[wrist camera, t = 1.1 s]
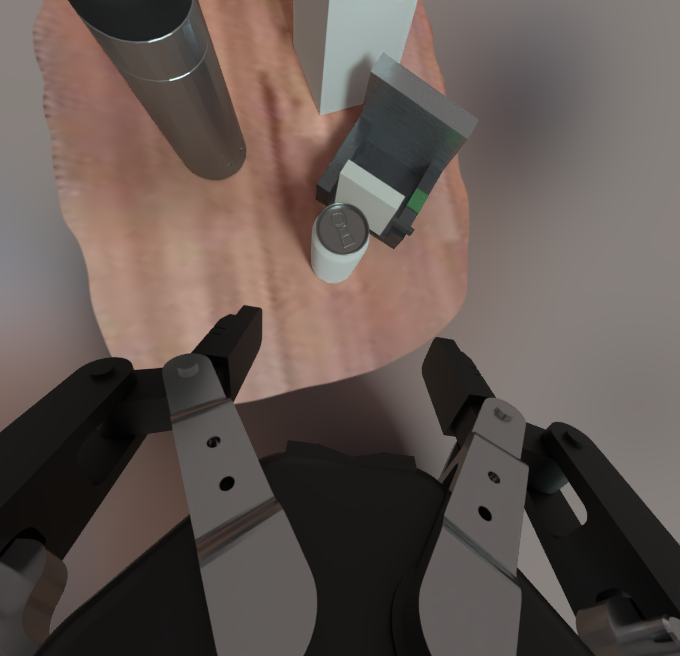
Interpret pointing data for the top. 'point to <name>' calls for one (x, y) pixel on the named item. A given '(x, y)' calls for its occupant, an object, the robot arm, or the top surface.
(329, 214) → the can
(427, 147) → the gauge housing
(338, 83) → the milk
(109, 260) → the top surface
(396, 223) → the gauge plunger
